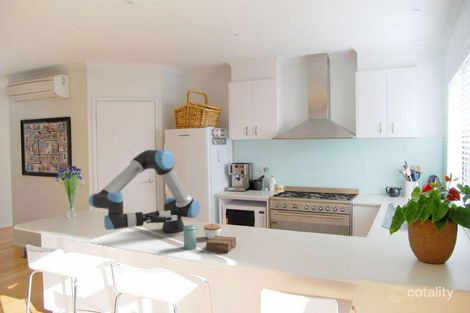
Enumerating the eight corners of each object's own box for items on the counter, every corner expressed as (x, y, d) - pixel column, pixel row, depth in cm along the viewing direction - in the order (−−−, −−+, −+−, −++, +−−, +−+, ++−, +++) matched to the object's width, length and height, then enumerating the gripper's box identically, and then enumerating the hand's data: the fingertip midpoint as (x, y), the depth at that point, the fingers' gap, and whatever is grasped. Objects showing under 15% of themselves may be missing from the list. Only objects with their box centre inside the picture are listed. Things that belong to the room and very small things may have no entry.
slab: (215, 244, 206) (215, 235, 206) (236, 245, 202) (235, 237, 202) (206, 250, 194) (206, 242, 194) (228, 253, 190) (227, 244, 189)
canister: (187, 245, 205) (186, 225, 205) (199, 246, 203) (198, 225, 202) (181, 249, 198) (180, 228, 197) (193, 250, 196) (192, 229, 195)
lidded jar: (210, 241, 211) (209, 226, 210) (201, 238, 220) (200, 223, 219) (224, 238, 217) (224, 223, 217) (215, 234, 226) (214, 220, 225)
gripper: (131, 221, 198) (168, 217, 207) (139, 231, 175) (180, 226, 184) (131, 208, 197) (167, 205, 206) (139, 217, 175) (179, 212, 184)
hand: (173, 215), depth 195 cm, fingers open, 13 cm apart
